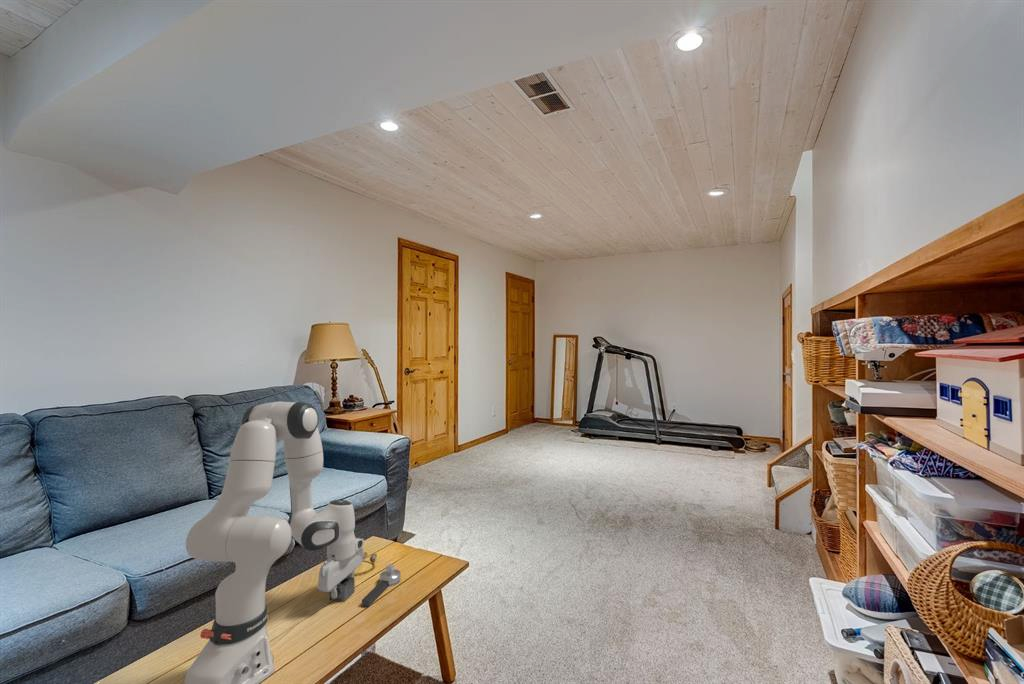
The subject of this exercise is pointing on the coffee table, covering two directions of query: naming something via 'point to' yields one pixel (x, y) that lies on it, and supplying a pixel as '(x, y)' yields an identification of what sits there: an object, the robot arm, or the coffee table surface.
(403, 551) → the coffee table surface
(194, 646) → the coffee table surface
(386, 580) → the ratchet
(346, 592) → the socket
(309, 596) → the coffee table surface
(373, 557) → the extension cord
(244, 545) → the robot arm
